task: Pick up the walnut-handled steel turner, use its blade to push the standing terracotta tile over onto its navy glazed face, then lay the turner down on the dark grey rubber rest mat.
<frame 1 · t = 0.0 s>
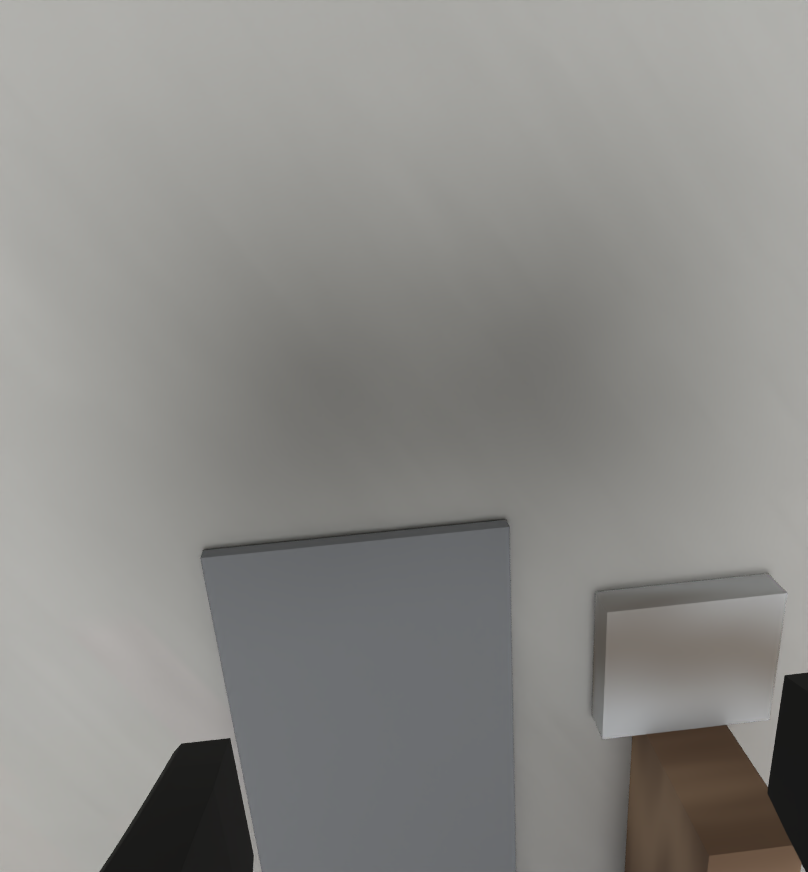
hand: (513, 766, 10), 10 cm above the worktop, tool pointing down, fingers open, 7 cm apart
rest mat: (387, 826, 24), on the worktop
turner: (660, 847, 25), on the worktop
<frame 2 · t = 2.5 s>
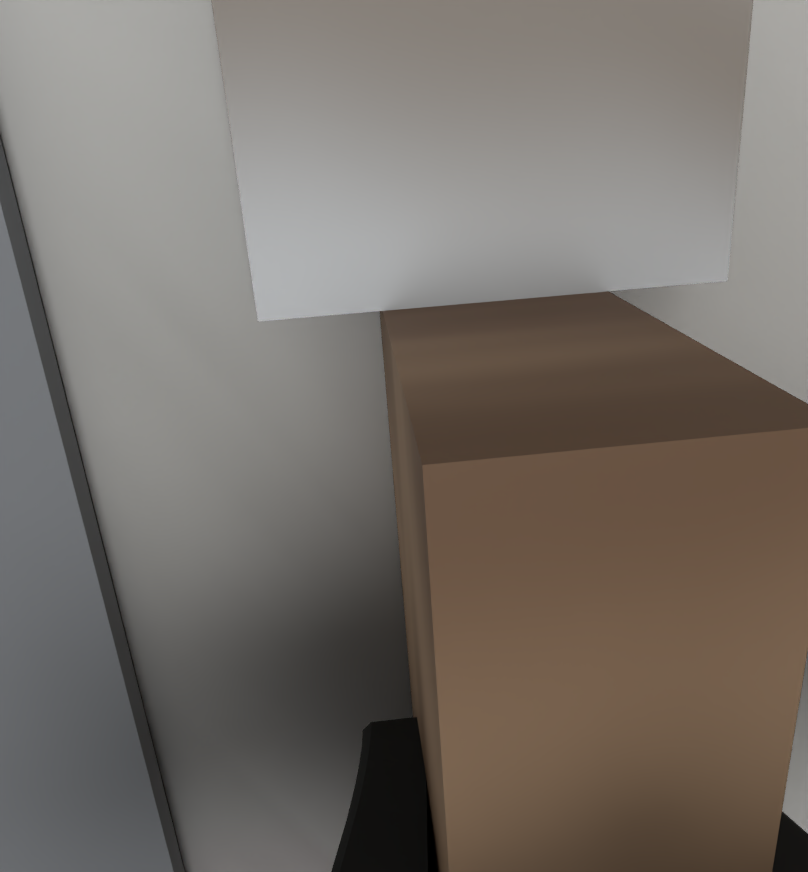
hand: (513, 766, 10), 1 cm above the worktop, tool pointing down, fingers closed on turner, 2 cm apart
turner: (492, 691, 11), on the worktop, touching gripper
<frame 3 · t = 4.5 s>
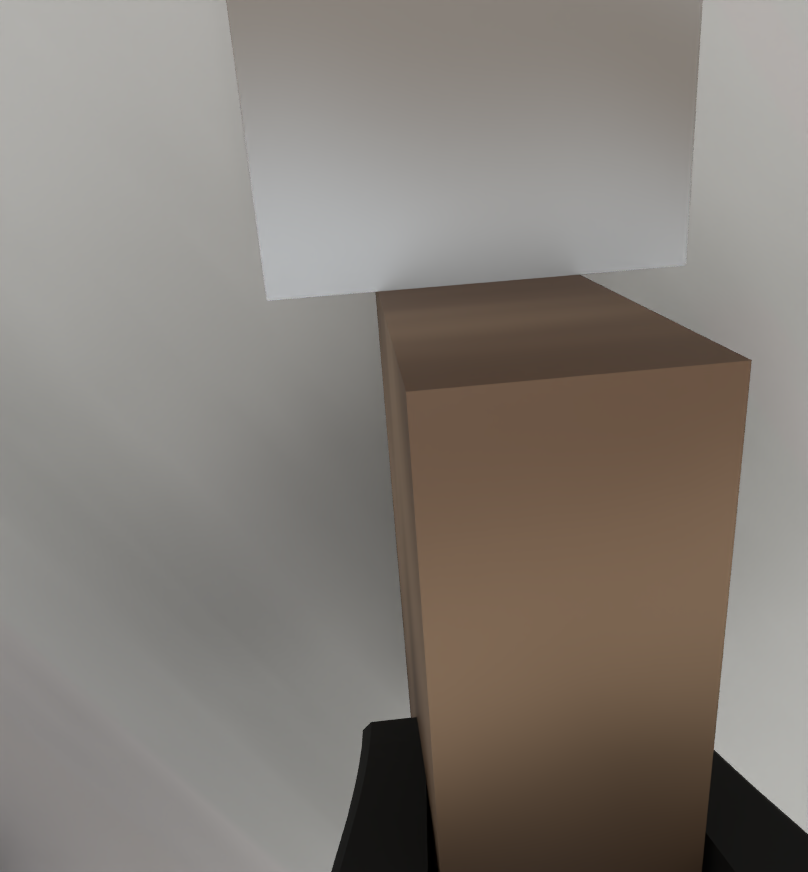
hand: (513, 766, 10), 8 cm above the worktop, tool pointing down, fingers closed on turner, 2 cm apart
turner: (481, 652, 12), point 6 cm above the worktop, touching gripper
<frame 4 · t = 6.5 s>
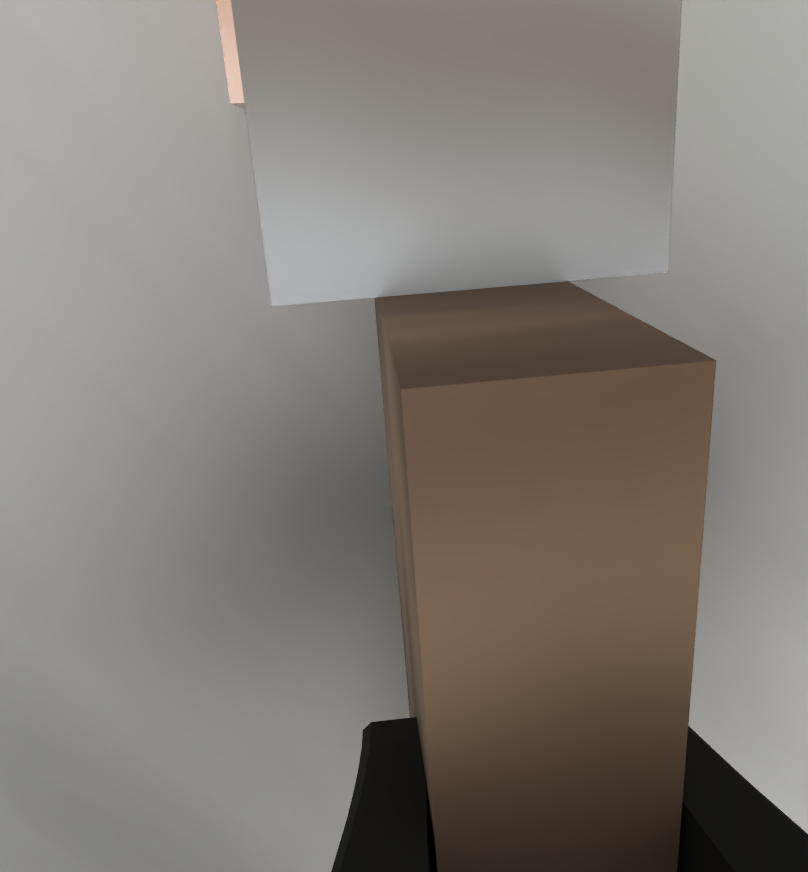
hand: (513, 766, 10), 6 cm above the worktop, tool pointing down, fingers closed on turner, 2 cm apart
tile: (425, 93, 12), point 1 cm above the worktop, tilted 90°
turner: (476, 643, 12), point 4 cm above the worktop, touching gripper
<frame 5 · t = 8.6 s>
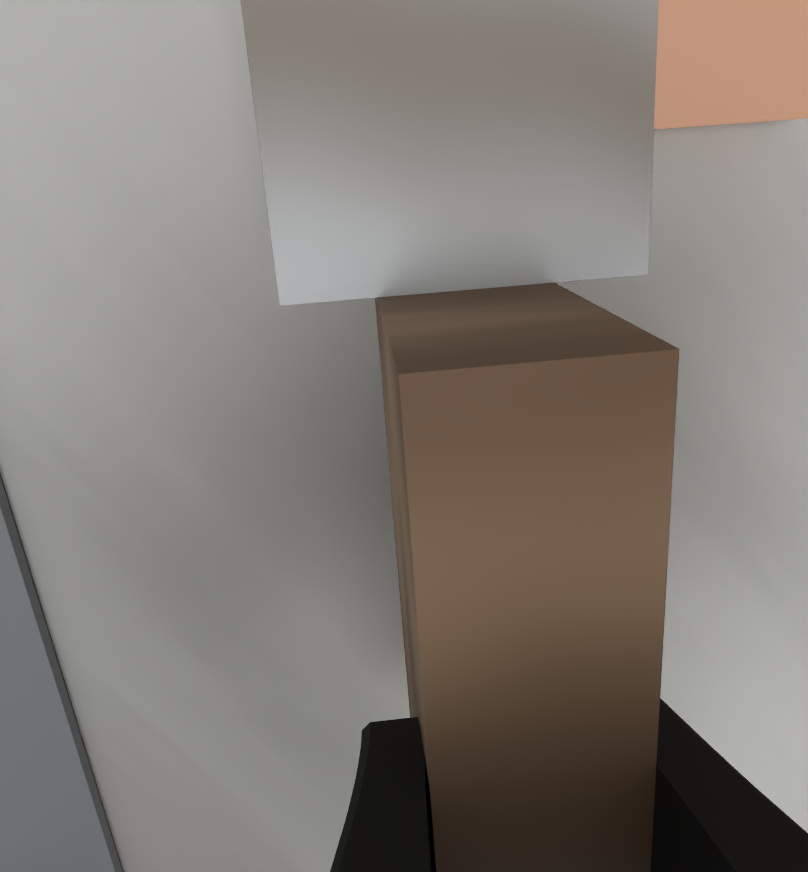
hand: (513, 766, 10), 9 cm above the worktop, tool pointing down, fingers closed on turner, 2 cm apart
tile: (653, 128, 15), point 1 cm above the worktop, tilted 90°
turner: (471, 627, 13), point 6 cm above the worktop, touching gripper
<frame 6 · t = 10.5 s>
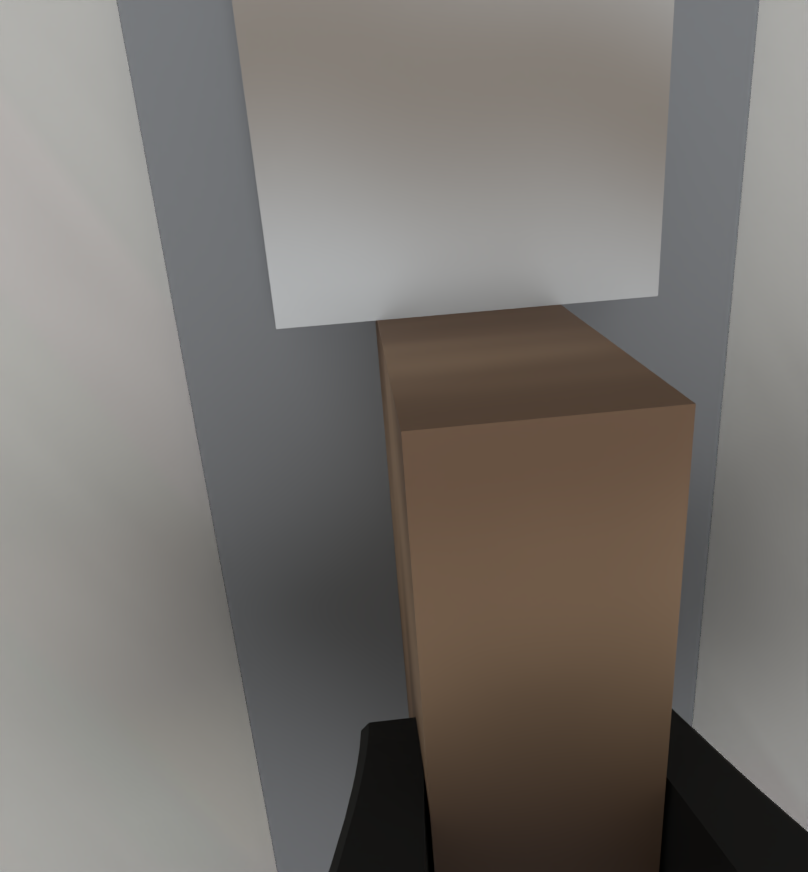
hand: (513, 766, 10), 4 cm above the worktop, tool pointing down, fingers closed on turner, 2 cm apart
rest mat: (468, 585, 13), on the worktop
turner: (473, 645, 13), resting on rest mat, touching gripper
when the fingers open (3 cm above the worktop, at t = 10.9 s): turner stays where it is, resting on rest mat.
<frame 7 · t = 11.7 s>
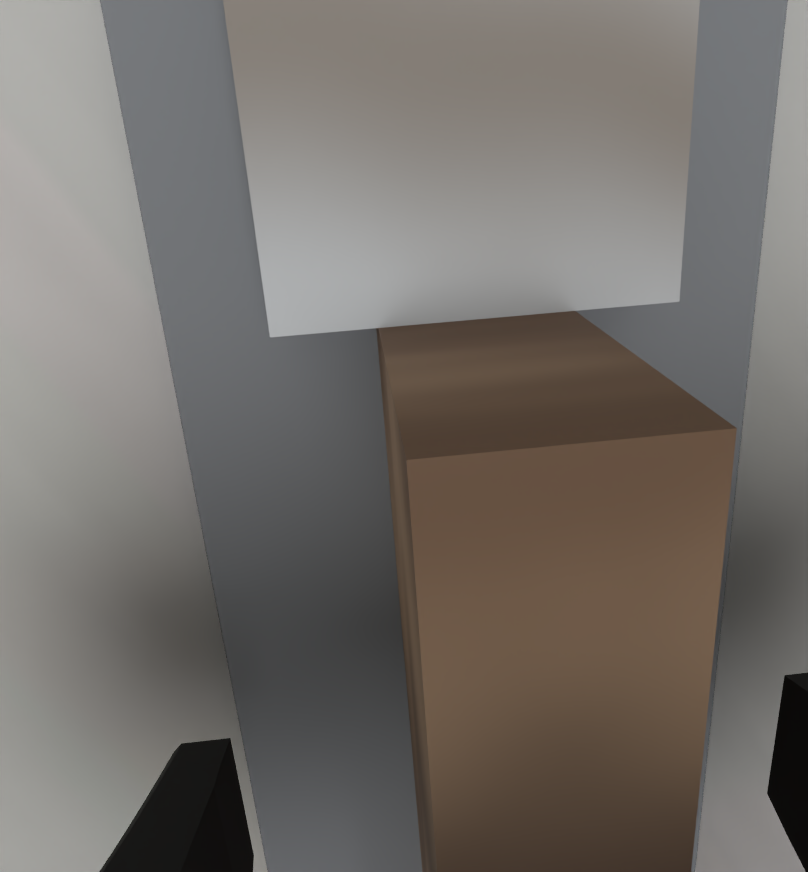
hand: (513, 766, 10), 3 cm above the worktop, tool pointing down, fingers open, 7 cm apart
rest mat: (474, 604, 12), on the worktop
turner: (478, 667, 12), resting on rest mat
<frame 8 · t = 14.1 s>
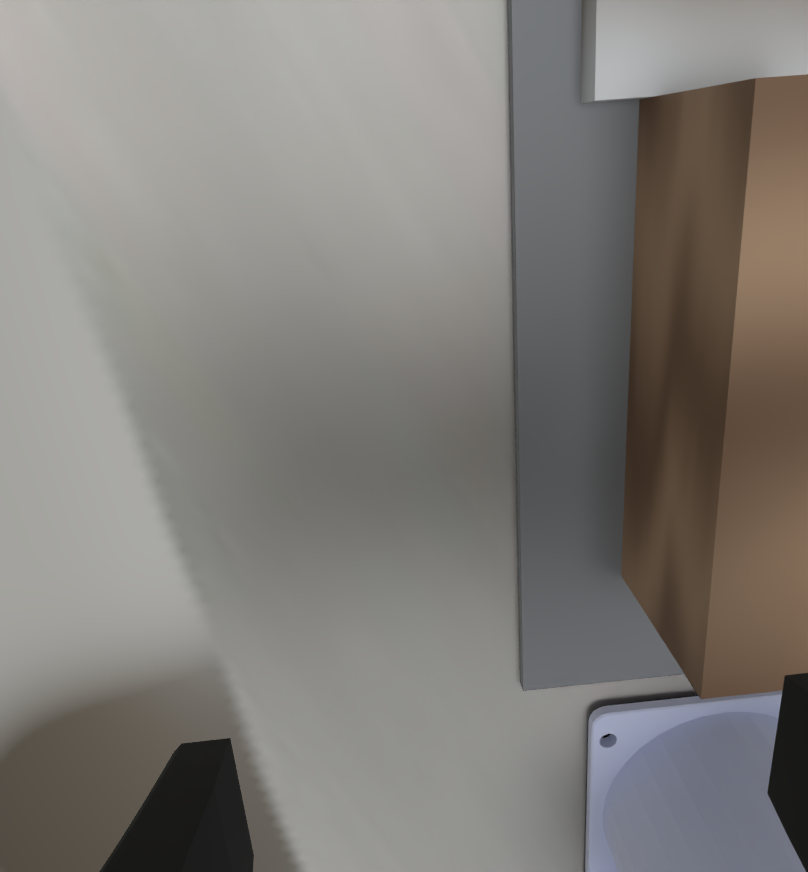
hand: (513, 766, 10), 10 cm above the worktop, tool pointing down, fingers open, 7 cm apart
rest mat: (673, 319, 19), on the worktop
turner: (677, 360, 19), resting on rest mat
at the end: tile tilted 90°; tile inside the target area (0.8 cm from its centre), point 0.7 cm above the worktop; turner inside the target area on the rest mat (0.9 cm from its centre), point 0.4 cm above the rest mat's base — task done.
